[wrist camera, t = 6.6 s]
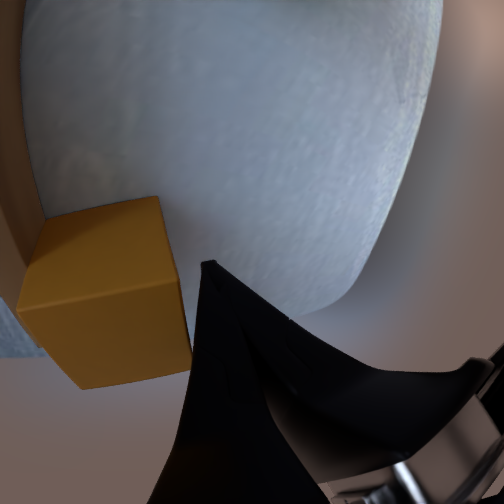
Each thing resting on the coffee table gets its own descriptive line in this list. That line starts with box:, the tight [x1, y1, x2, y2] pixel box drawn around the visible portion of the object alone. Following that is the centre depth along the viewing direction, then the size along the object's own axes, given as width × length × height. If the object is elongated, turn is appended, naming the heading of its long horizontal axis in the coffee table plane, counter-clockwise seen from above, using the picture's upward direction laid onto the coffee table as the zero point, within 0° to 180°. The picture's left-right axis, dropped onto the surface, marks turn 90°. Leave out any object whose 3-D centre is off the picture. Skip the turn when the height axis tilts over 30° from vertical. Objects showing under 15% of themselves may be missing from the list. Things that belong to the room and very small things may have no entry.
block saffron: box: [16, 196, 193, 390], centre depth 7 cm, size 4×4×4 cm
